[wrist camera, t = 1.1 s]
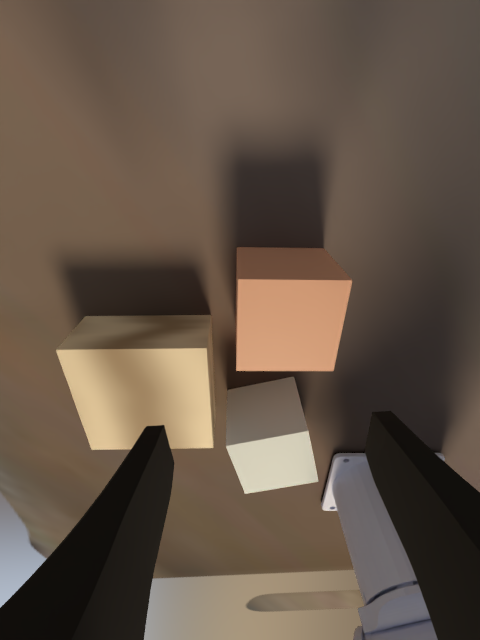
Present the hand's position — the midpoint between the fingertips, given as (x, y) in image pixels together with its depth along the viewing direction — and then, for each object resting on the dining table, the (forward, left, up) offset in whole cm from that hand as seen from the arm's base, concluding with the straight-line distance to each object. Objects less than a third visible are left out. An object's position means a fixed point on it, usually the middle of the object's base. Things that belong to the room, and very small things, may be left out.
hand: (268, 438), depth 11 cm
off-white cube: (-1, +9, -10) cm, 13 cm away
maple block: (+7, +5, -10) cm, 13 cm away
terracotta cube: (-1, -1, -10) cm, 10 cm away
